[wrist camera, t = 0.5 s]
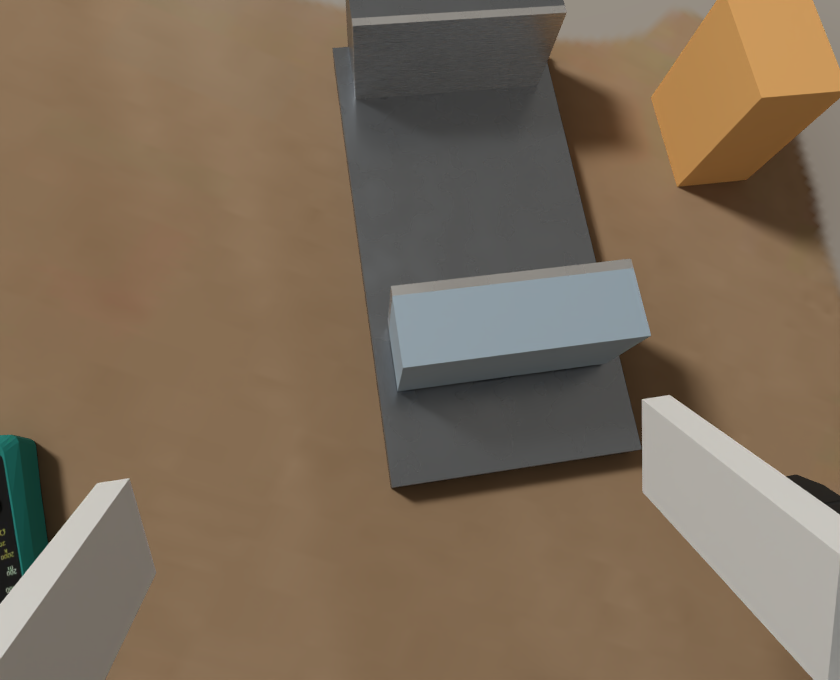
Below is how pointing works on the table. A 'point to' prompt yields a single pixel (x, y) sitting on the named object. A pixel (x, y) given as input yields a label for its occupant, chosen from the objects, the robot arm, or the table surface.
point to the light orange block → (744, 88)
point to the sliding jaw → (514, 323)
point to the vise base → (468, 221)
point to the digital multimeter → (19, 510)
